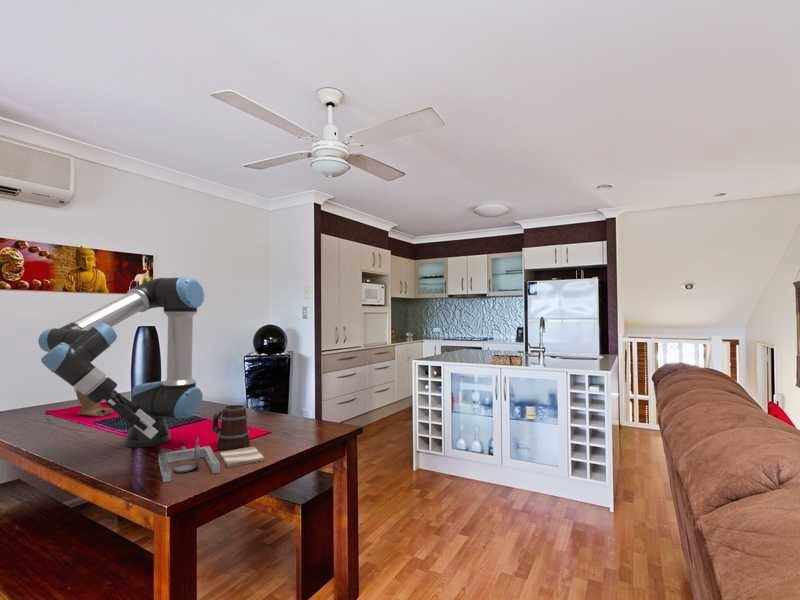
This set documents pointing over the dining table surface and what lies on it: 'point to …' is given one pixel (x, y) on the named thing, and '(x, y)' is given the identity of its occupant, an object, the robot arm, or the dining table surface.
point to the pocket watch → (189, 466)
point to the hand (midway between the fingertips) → (153, 429)
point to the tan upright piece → (91, 406)
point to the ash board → (241, 456)
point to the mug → (231, 428)
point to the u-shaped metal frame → (186, 455)
